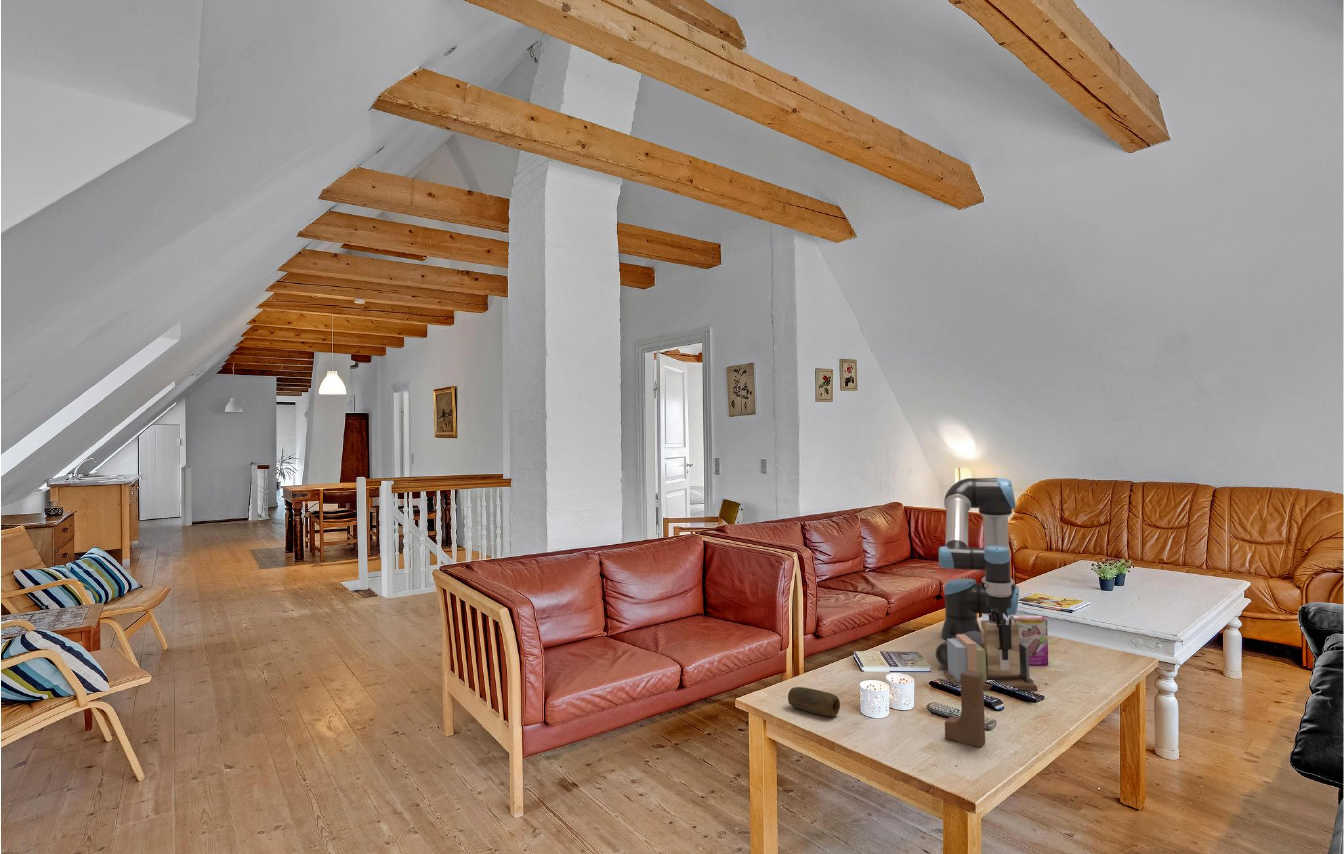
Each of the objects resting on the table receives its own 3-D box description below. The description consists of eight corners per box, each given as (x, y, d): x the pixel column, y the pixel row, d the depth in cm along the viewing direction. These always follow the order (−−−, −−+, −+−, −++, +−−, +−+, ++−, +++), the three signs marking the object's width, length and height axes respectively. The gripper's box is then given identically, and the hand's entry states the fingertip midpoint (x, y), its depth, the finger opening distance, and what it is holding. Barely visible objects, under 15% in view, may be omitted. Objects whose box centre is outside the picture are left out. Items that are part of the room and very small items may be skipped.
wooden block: (944, 738, 176) (942, 670, 177) (950, 733, 180) (947, 665, 180) (980, 748, 171) (978, 676, 171) (985, 741, 174) (983, 672, 175)
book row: (948, 671, 224) (946, 634, 224) (975, 671, 223) (974, 634, 223) (958, 682, 213) (957, 643, 213) (988, 683, 212) (986, 643, 212)
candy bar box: (1016, 665, 233) (1014, 618, 233) (1010, 661, 238) (1008, 614, 238) (1049, 666, 232) (1047, 618, 232) (1043, 661, 237) (1041, 614, 237)
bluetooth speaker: (961, 674, 225) (959, 645, 225) (934, 668, 232) (933, 639, 232) (990, 659, 240) (989, 631, 240) (964, 654, 247) (963, 627, 247)
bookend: (1016, 674, 220) (1015, 640, 220) (1022, 674, 220) (1021, 640, 220) (1027, 682, 212) (1025, 647, 212) (1033, 682, 212) (1032, 647, 212)
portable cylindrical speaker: (843, 713, 195) (842, 690, 195) (832, 721, 189) (832, 698, 189) (796, 702, 204) (796, 680, 204) (785, 710, 198) (785, 687, 199)
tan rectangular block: (982, 669, 219) (980, 620, 220) (1014, 669, 218) (1012, 620, 219) (988, 674, 215) (986, 623, 215) (1020, 674, 214) (1018, 624, 214)
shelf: (944, 675, 225) (944, 670, 225) (1018, 675, 223) (1018, 671, 223) (958, 689, 211) (957, 685, 211) (1037, 690, 209) (1037, 686, 209)
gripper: (976, 588, 227) (979, 658, 226) (996, 600, 209) (999, 675, 208) (999, 588, 226) (1002, 658, 225) (1021, 600, 208) (1024, 675, 208)
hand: (1001, 666), depth 217 cm, fingers closed on tan rectangular block, 4 cm apart
